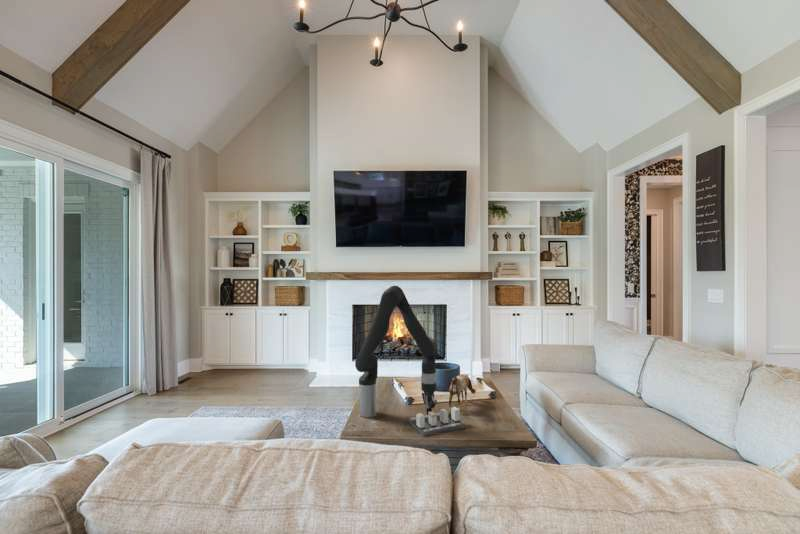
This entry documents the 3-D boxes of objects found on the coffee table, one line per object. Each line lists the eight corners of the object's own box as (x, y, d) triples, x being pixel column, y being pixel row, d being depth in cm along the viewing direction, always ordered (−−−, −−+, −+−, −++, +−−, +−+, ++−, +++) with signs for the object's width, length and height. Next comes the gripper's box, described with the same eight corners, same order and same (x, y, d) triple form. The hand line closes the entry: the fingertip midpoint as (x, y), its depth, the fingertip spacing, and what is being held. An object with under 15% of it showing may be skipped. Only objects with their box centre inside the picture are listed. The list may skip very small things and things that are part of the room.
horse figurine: (456, 418, 212) (455, 379, 211) (442, 416, 216) (441, 377, 215) (476, 399, 239) (476, 365, 238) (464, 397, 242) (464, 363, 242)
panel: (407, 422, 209) (407, 418, 209) (446, 414, 217) (446, 411, 217) (422, 436, 192) (422, 432, 192) (464, 428, 200) (464, 423, 200)
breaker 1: (416, 425, 199) (416, 413, 199) (421, 424, 200) (420, 413, 200) (419, 428, 196) (419, 416, 196) (424, 427, 197) (424, 416, 196)
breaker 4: (451, 418, 207) (451, 407, 207) (455, 417, 208) (455, 406, 207) (455, 421, 203) (455, 410, 203) (459, 420, 204) (459, 409, 204)
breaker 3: (440, 420, 204) (439, 409, 204) (444, 419, 205) (444, 408, 205) (443, 423, 201) (443, 412, 200) (448, 422, 202) (448, 411, 201)
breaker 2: (428, 422, 202) (428, 411, 202) (433, 421, 203) (432, 411, 203) (432, 425, 198) (431, 414, 198) (436, 425, 199) (436, 413, 199)
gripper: (416, 378, 208) (416, 411, 209) (427, 385, 196) (428, 421, 197) (429, 376, 211) (430, 409, 212) (441, 383, 199) (442, 418, 199)
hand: (429, 414), depth 204 cm, fingers closed
